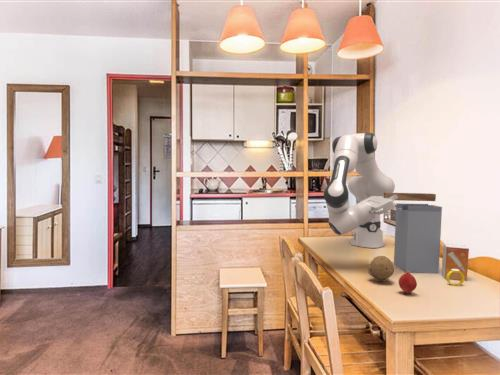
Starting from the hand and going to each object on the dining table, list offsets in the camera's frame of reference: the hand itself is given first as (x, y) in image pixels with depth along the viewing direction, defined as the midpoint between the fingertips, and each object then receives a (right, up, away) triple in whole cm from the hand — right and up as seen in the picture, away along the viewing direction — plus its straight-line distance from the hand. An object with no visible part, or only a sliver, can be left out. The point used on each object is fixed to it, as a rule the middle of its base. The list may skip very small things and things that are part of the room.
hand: (394, 195), depth 156 cm
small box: (+21, -33, -8) cm, 40 cm away
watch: (+16, -34, -17) cm, 41 cm away
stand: (+11, -32, +4) cm, 34 cm away
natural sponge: (-11, -33, -15) cm, 38 cm away
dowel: (+6, -2, 0) cm, 7 cm away
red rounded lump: (-6, -34, -27) cm, 44 cm away
